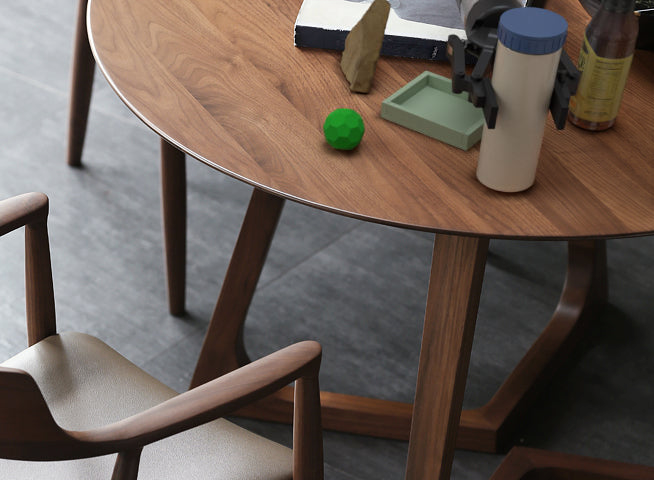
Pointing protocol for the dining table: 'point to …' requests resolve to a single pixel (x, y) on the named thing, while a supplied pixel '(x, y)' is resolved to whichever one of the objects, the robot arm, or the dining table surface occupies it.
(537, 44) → the lid
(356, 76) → the rock
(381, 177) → the dining table surface
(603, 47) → the sauce bottle
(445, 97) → the tray
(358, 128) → the polyhedron
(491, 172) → the jar
